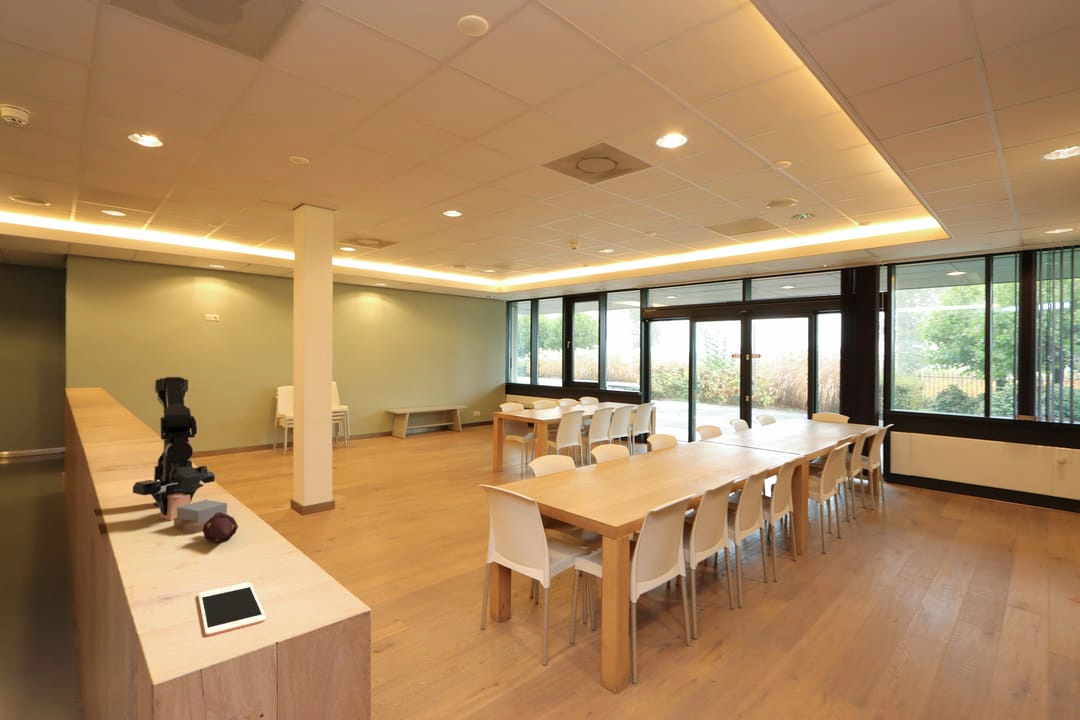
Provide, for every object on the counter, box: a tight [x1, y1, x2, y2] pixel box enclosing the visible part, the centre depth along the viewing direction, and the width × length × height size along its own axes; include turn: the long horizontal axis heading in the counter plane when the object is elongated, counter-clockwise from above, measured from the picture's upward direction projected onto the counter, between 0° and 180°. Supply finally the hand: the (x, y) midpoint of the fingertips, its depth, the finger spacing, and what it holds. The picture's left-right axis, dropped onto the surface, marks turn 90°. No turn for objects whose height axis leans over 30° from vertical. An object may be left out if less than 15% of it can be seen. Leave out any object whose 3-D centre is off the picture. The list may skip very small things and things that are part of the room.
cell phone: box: [197, 581, 267, 637], centre depth 93 cm, size 9×18×1 cm, turn 37°
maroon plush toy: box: [202, 512, 239, 544], centre depth 126 cm, size 7×7×15 cm
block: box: [159, 493, 191, 521], centre depth 145 cm, size 5×5×6 cm
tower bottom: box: [173, 513, 230, 535], centre depth 138 cm, size 9×9×3 cm
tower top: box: [177, 499, 228, 523], centre depth 138 cm, size 8×8×3 cm
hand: (175, 512), depth 145 cm, fingers closed on block, 5 cm apart
